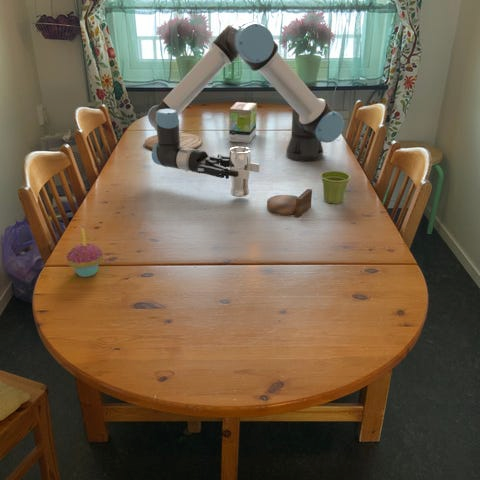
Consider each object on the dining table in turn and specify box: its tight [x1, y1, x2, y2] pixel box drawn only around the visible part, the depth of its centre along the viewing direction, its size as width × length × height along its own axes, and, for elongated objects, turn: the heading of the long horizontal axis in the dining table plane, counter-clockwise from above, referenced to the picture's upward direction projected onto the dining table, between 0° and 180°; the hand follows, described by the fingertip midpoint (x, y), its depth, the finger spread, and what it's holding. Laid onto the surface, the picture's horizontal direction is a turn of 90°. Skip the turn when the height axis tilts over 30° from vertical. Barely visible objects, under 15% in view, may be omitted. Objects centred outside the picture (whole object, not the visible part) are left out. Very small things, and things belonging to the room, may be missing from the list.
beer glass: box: [228, 146, 252, 198], centre depth 161 cm, size 7×7×15 cm
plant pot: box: [320, 170, 351, 205], centre depth 163 cm, size 9×9×9 cm
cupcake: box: [66, 224, 104, 278], centre depth 121 cm, size 9×8×12 cm
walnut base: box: [266, 188, 313, 218], centre depth 158 cm, size 13×12×6 cm
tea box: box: [228, 101, 258, 144], centre depth 226 cm, size 15×10×15 cm
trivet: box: [144, 132, 203, 151], centre depth 220 cm, size 25×25×2 cm
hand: (253, 171), depth 159 cm, fingers closed on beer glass, 7 cm apart
